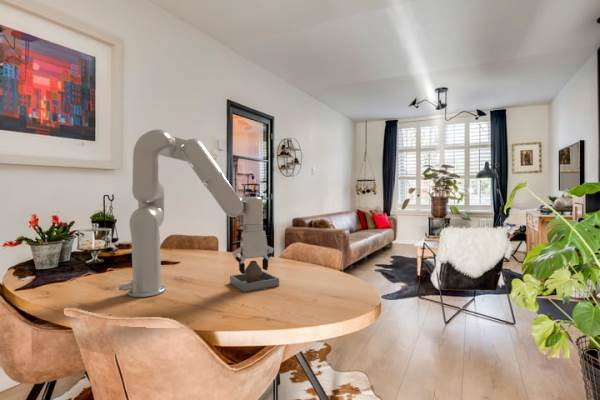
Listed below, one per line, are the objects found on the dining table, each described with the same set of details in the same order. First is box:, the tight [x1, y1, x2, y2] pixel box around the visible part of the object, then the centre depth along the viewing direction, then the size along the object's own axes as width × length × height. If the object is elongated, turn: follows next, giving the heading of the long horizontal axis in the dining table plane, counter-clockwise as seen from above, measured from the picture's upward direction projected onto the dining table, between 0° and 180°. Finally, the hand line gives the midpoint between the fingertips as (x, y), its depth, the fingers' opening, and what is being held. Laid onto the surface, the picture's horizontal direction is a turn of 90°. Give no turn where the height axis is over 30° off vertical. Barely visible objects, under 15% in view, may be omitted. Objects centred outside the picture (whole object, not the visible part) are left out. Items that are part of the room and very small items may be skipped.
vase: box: [244, 260, 263, 283], centre depth 131 cm, size 7×7×9 cm
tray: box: [229, 270, 280, 293], centre depth 132 cm, size 15×15×3 cm
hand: (253, 271), depth 131 cm, fingers open, 9 cm apart
